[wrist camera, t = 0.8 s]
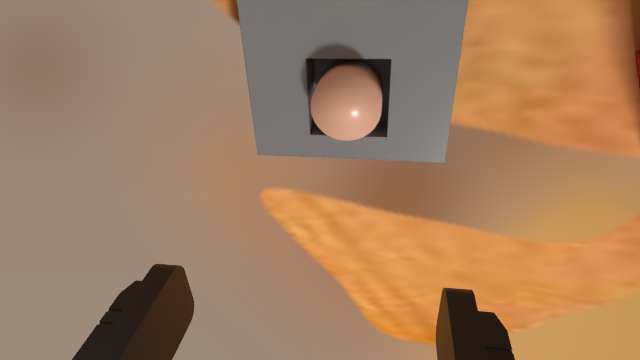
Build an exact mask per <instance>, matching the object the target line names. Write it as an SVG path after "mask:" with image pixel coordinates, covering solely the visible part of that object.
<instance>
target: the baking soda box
mask: <svg viewBox="0 0 640 360" xmlns="http://www.w3.org/2000/svg"><path fill="white" fill-rule="evenodd" d="M635 55H636V63H637V71H638V78H639V86H640V51H639V52H636V53H635Z"/></svg>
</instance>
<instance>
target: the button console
mask: <svg viewBox="0 0 640 360" xmlns="http://www.w3.org/2000/svg"><path fill="white" fill-rule="evenodd" d="M467 4H468V0H237V6H238V13H239V21H240V28H241V35H242V42H243V50H244V58H245V65H246V72H247V80H248V87H249V94H250V101H251V109H252V117H253V123H254V131H255V139H256V146H257V153H258V155H275V156H300V157H323V158H347V159H348V158H349V159H371V160H395V161H419V162H443V163H444V162H445V156H446V150H447V143H448V136H449V129H450V122H451V115H452V108H453V101H454V94H455V87H456V80H457V74H458V67H459V60H460V53H461V46H462V39H463V32H464V25H465V18H466V11H467ZM342 60H357V61H361V62H363V63H365V64H367V65H369V66H370V67H371V68H373V69H374V70H375V72H376V73H377V74H378V76H379V78H380V80H381V83H382V88H383V97H382V111H381V117H380V120H379V122H378V124H377V125H376V127H375V128H374V129H373V130H372V131H371V132H370V133H369V134H368V135H366V136H364V137H362V138H360V139H356V140H351V141H344V140H338V139H335V138H332V137H330V136H328V135H326V134H325V133H324V132H322V131H321V130H320V129H319V128H318V126H317V125H316V123H315V122H314V120H313V117H312V114H311V99H312V95H313V93H314V91H315V89H316V86H317V84H318V82H319V80H320V78H321V76H322V74H323V72H324V71H325V70H326V69H327V68H328V67H329V66H331V65H332V64H334V63H336V62H339V61H342Z"/></svg>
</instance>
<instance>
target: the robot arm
mask: <svg viewBox="0 0 640 360" xmlns="http://www.w3.org/2000/svg"><path fill="white" fill-rule="evenodd" d="M193 313H194V300H193V296H192V293H191V290H190V287H189V283H188V280H187V277H186V273H185V270H184V268H183V267H182V266H177V265H164V264H155V265H154V266H153V267H152V268H151V269H150V270H149V272H148V273H147V275H146V276H145V278H144V279H143V281H135V282H134V283H132V284H131V285H130V286H128V287H127V288H126V289H125V290H123V291H122V292H121V293H120V294H119V296H118V297H117V298H116V299H115V301H114V302H113V304H112V305H111V306H110V308H109V311H108V312H106V313H105V315H104V316H103V318H102V319H101V320H100V324H99V325H97V326H96V327H95V328H94V330H93V331H92V333H91V334H90V335H89V337H88V338H87V340H86V341H85V342H84V344H83V345H82V347H81V348H80V349H79V351H78V352H77V353H76V355H75V356H74V358H73V359H72V360H172V358H173V357H174V355H175V353H176V351H177V349H178V347H179V344H180V343H181V341H182V339H183V337H184V335H185V332H186V330H187V329H188V326H189V324H190V322H191V320H192V317H193ZM436 348H437V358H438V360H515V359H514V355H513V354H512V347H511V344H510V340H509V336H508V333H507V330H506V328H505V327H504V326H503V324H502V323H501V322H500V320H499V319H498V318H497V316H496V315H495V314H494V313H492V312H481V311H478V310H477V305H476V301H475V296H474V293H473V291H472V290H466V289H453V288H443V290H442V296H441V302H440V308H439V314H438V320H437V327H436Z"/></svg>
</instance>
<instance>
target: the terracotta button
mask: <svg viewBox="0 0 640 360" xmlns="http://www.w3.org/2000/svg"><path fill="white" fill-rule="evenodd" d="M382 97H383V88H382V83H381V80H380V78H379V76H378V74H377V73H376V72H375V70H374V69H373V68H371V67H370V66H369V65H367V64H365V63H363V62H361V61H357V60H342V61H339V62H336V63H334V64H332V65H331V66H329V67H328V68H327V69H326V70H325V71H324V72H323V74H322V76H321V78H320V80H319V82H318V84H317V86H316V89H315V91H314V93H313V95H312V99H311V114H312V117H313V120H314V122H315V123H316V125H317V126H318V128H319V129H320V130H321V131H322V132H324V133H325V134H326V135H328V136H330V137H332V138H335V139H338V140H344V141H351V140H356V139H360V138H362V137H364V136H366V135H368V134H369V133H370V132H371V131H372V130H373V129H374V128H375V127H376V125H377V124H378V122H379V120H380V117H381V111H382Z"/></svg>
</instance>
